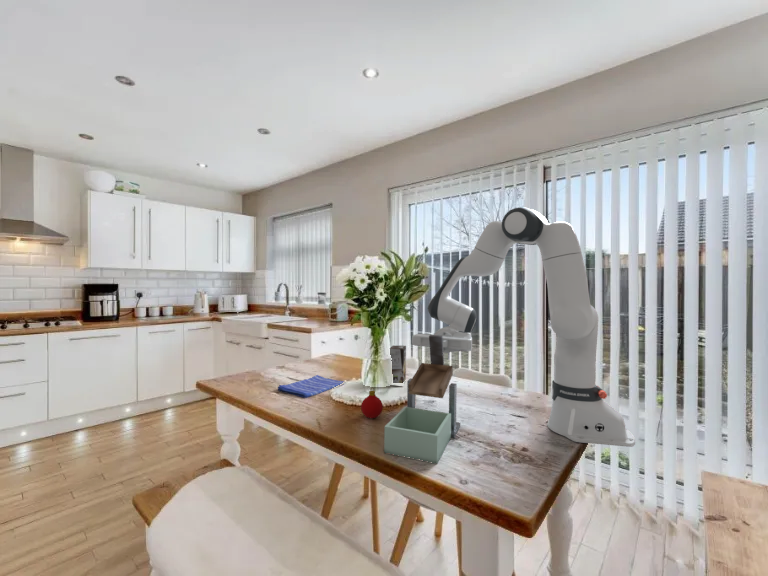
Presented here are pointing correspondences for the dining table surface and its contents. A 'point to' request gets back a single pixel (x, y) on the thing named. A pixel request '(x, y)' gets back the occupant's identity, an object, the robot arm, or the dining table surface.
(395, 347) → the coffee box
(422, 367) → the lever tray
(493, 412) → the dining table surface
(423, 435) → the tub
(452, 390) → the lever stand
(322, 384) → the dish towel
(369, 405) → the christmas ornament
